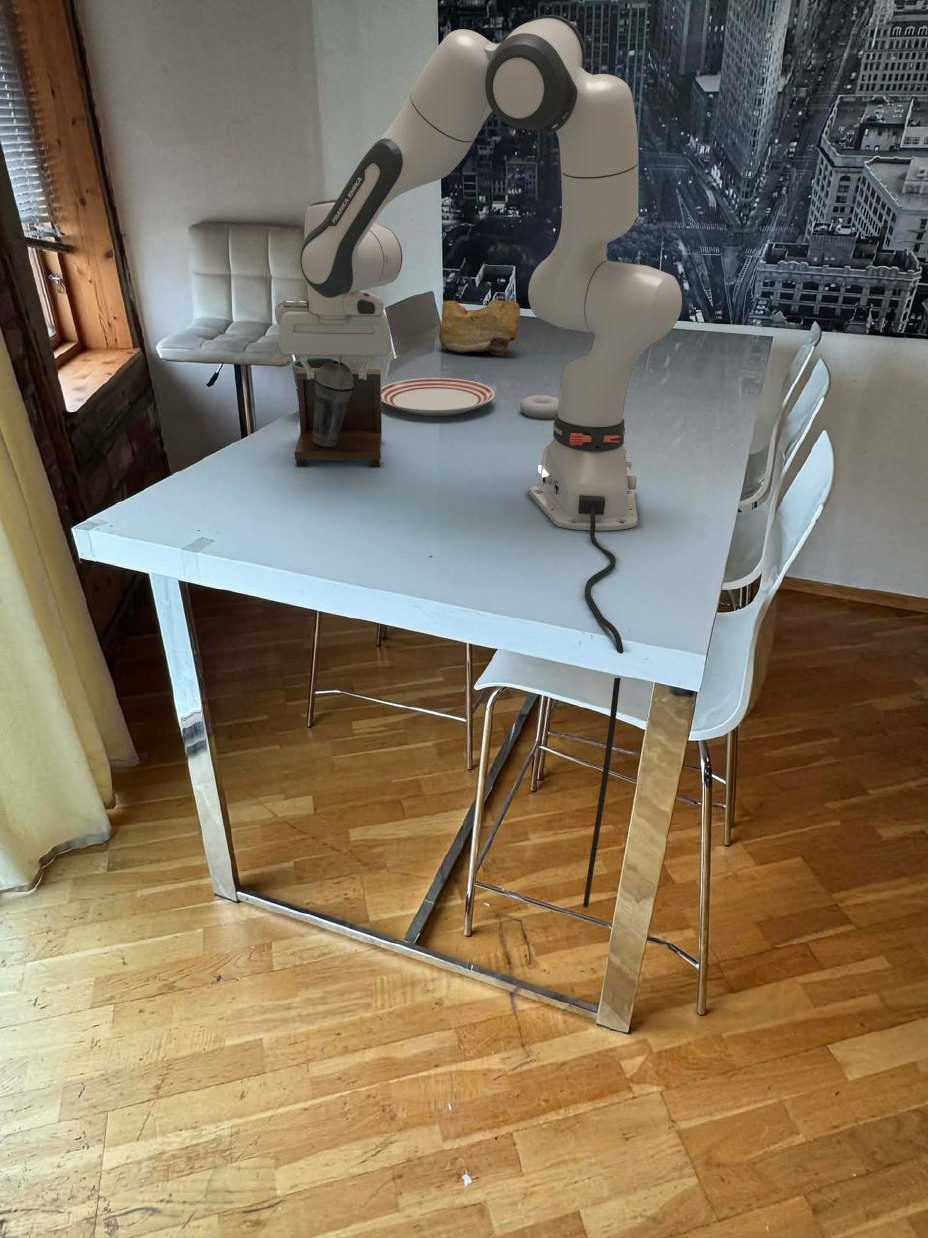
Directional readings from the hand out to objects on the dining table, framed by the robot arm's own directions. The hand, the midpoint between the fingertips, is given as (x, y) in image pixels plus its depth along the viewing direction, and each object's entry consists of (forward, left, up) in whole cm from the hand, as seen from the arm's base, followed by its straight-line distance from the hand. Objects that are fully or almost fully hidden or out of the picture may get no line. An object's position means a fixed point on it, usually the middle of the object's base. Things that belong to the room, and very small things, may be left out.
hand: (337, 379), depth 157 cm
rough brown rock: (+91, -36, -15) cm, 99 cm away
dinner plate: (+36, -20, -15) cm, 43 cm away
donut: (+30, -44, -15) cm, 55 cm away
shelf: (+2, 0, -15) cm, 15 cm away
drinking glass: (+26, +6, -15) cm, 30 cm away
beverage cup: (-1, +3, -12) cm, 12 cm away
